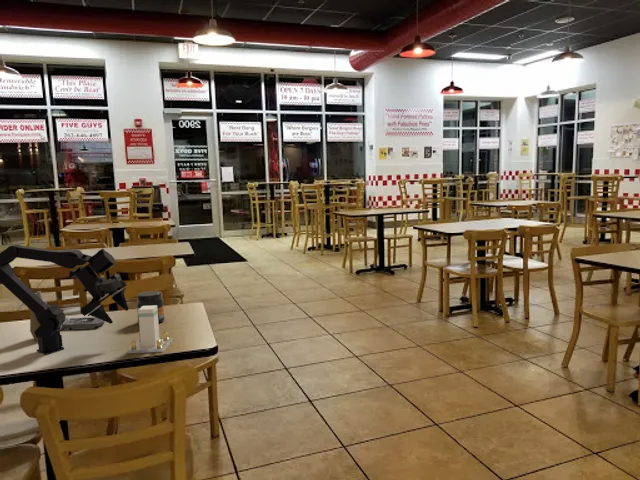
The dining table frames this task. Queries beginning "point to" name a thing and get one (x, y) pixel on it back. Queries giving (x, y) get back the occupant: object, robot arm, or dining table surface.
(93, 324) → the graphics card
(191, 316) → the dining table surface
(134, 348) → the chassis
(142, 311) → the block
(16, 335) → the dining table surface
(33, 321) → the squeeze bottle
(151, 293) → the supplement container
